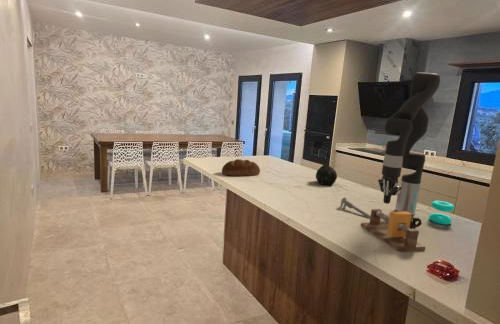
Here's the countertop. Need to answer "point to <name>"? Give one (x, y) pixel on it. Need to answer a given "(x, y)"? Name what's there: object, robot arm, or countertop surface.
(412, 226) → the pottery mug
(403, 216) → the collar
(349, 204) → the caliper
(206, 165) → the countertop surface
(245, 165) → the bread
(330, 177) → the squash
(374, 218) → the pipe stand
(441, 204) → the donuts
